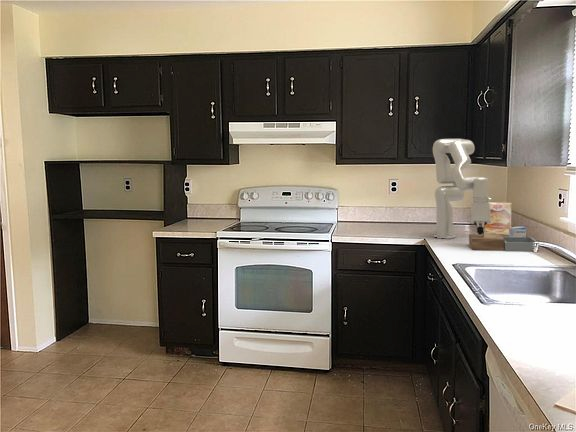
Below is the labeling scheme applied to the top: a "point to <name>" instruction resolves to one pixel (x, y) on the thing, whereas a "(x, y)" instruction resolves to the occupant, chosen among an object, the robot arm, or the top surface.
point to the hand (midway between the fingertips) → (480, 234)
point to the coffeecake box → (500, 218)
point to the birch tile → (489, 234)
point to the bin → (518, 243)
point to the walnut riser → (486, 242)
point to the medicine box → (517, 231)
